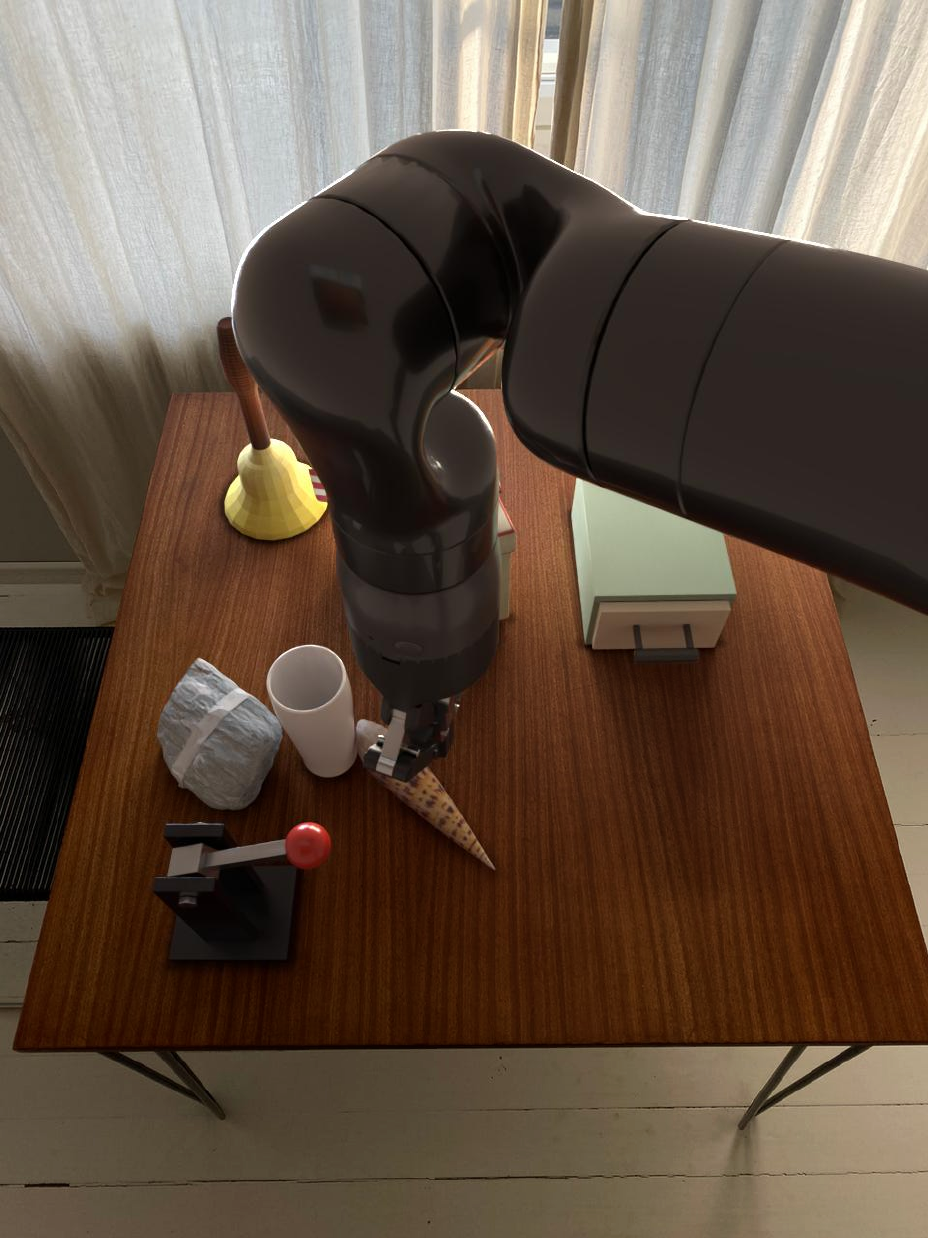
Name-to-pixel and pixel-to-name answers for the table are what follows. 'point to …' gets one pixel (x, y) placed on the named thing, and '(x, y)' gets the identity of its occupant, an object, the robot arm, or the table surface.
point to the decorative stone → (217, 738)
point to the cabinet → (642, 554)
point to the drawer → (660, 628)
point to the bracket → (228, 906)
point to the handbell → (263, 463)
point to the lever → (253, 854)
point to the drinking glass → (315, 707)
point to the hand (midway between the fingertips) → (434, 745)
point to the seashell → (423, 795)
